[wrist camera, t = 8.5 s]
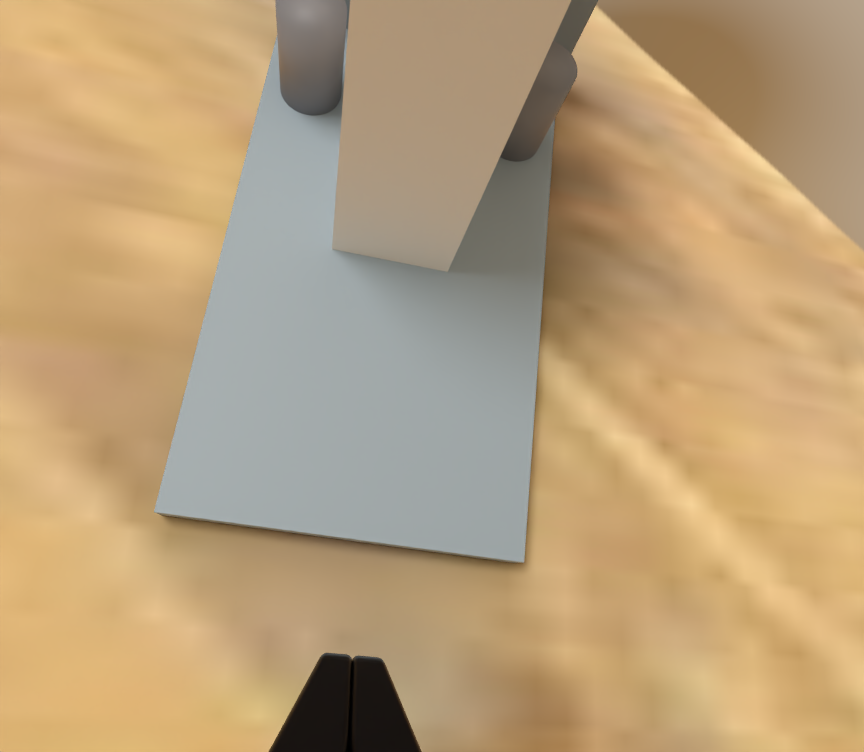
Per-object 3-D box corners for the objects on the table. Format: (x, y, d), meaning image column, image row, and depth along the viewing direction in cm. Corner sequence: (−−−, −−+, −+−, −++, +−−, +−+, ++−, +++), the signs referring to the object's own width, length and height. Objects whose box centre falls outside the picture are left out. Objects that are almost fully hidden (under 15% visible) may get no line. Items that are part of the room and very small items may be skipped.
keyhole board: (515, 563, 22) (584, 557, 17) (160, 515, 21) (105, 491, 15) (551, 71, 29) (608, -49, 24) (290, 6, 28) (286, -140, 22)
